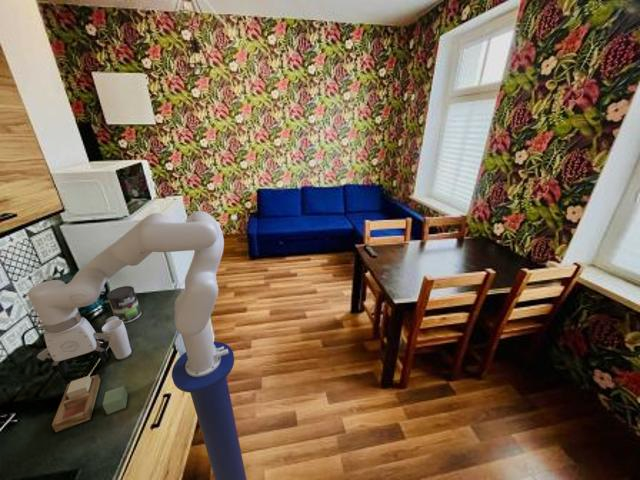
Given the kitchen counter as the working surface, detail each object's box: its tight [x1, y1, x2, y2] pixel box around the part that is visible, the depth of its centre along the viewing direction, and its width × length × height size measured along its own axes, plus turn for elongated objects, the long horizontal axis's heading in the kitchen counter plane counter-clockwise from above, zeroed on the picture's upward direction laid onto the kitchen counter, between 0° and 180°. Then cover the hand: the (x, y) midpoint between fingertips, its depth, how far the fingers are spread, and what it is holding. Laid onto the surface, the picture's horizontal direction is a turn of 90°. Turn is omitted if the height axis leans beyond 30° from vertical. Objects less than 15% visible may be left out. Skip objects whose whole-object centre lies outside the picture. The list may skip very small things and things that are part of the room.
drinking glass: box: [101, 320, 132, 360], centre depth 104 cm, size 7×7×15 cm
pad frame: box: [51, 374, 101, 433], centre depth 87 cm, size 8×16×3 cm, turn 28°
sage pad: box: [102, 385, 128, 415], centre depth 86 cm, size 5×5×4 cm
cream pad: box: [66, 375, 92, 399], centre depth 89 cm, size 5×5×4 cm
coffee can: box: [106, 285, 142, 324], centre depth 125 cm, size 10×10×14 cm
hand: (85, 364), depth 83 cm, fingers open, 9 cm apart
